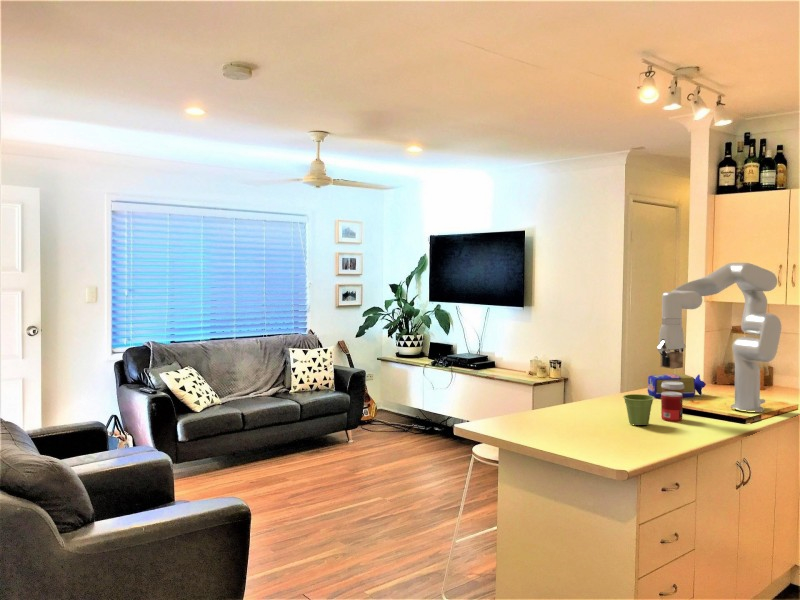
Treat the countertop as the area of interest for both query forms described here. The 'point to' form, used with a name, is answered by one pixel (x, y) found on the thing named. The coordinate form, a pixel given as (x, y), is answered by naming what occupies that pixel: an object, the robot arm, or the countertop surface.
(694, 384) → the bread
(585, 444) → the countertop surface
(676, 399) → the canned food
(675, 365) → the walnut block
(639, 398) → the plant pot
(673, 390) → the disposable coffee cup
